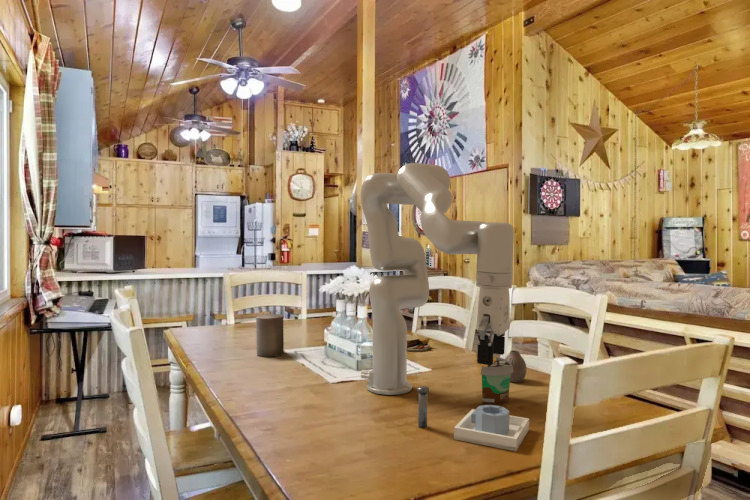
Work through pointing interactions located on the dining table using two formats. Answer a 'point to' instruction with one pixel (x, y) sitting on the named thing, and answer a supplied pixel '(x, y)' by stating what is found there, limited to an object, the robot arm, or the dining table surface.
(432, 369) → the dining table surface
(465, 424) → the tray
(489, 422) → the ring
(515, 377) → the vase
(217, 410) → the dining table surface
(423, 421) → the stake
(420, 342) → the toy sandwich meal
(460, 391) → the dining table surface
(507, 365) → the food container
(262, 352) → the pillar candle
